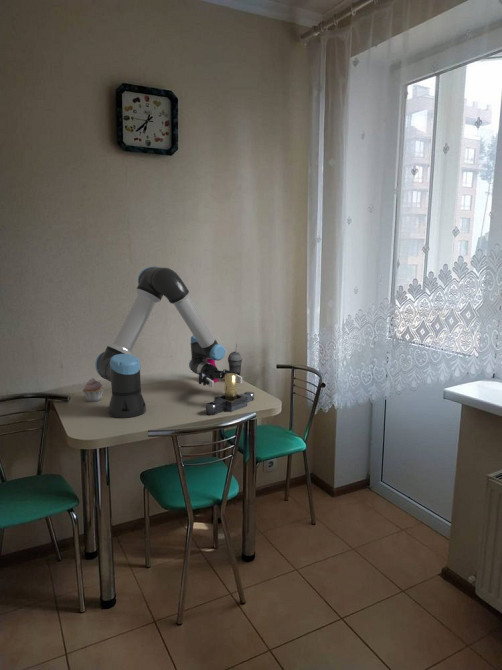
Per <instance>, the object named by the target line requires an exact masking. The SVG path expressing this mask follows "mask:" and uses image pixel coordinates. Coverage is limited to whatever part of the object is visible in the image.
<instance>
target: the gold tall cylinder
mask: <svg viewBox="0 0 502 670" xmlns="http://www.w3.org/2000/svg"><path fill="white" fill-rule="evenodd" d="M237 384H238V383H237V381H236V374H235V373H227V374H225V378H224V394H225V399H226V400H230V401H233V400H235V399H237V394H238V393H237V391H238V390H237Z"/></svg>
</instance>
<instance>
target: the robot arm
mask: <svg viewBox="0 0 502 670" xmlns="http://www.w3.org/2000/svg"><path fill="white" fill-rule="evenodd" d="M137 284H138V285H137V287H136V289H135V291H136V293H137V294H136V297H135V299H134V301H133V303H132V305H131V307H130V309H129V311H128V313H127V315H126V316H125V318H124V321H123V323H122V325H121V326H120V328H119V331H118V333H117V335H116V337H115V338H114V340H113V342H112V343H111V344H108V345H106V348H105V350H104V351H103V352H101V353H99V355H97V357H96V359H95V363H94V366H95V370H96V373H97V374H98V376H100V377H101V378H102V379H105V381H106V380H107V381H108V382H110V384H111V397H110V401H109V406H108V408H107V409H108V415H109V416H110V417H113V418H118V417H119V419H121V418H122V419H126V418H134V417H138V416H141V415H143V414H145V413H146V411H147V404H146V402H145V399H144V397H143V395H142V385H141V382H142V381H141V363H140V359H139V358H138V356H135V355H134V354H132V351H133V349H134V347H135V346H136V343H137V341H138V339H139V337H140V335H141V333H142V331H143V329H144V326H145V325H146V323H147V321H148V319H149V316H150V315H151V313H152V311H153V309H154V307H155V305H156V304H157V303H160V302H161V301H162V298H163V297H165V298H166V299H167V301H168V303H169V304H172V305H174V307H175V308H176V310H177V312H178V313H179V315H180V316H181V317H182V320H183V321H184V323H185V324H186V326H187V328H188V329H189V331H190V332H191V333H192V336H191V337H190V352H191V353H190V355H191V358H190V360H189V363H188V368H189V369H190V371H191V372H192V373H194V374H195V375H197V376H198V384H199V385H202V386H206V385H207V386H209V387H210V388H212V389H214V388H215V383H214V381H212V380H214V379H217V380H218V379H221V380H223V379H225V374H227V373H235V374H236V381H237V382H239V383H238V384H243V376H241V372H240V373H239V372H234V371H229V370H228V369H223V370H220V369H218V367H217V365H216V366H214V365H212V364H210V363H208V362H207V358H209V359H212V360H215V362H216V361H222V360H223V359H224V357H225V356H226V348H225V347H224V346H223V345H222V344H220V343H219V342H218V341H217V339H216V338H215V336H214V335H213V333H212V332H211V330H210V327H208V324H207V323H206V321H205V320H204V318H203V317H202V315H201V314H200V312H199V310H198V308H197V307H196V305H195V303H194V302H193V300H192V298H191V297H190V290H189V289H188V287H187V285H186V284H185V283H184V281H183V279H182V277H180V275H179V274H178V273H177V272H176V271H174V270H173V269H171V268H169V267H160V266H148V267H145V268H144V269H142V270H141V271H140V272H139V274H138V277H137ZM216 367H217V368H216Z"/></svg>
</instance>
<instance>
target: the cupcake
mask: <svg viewBox="0 0 502 670" xmlns="http://www.w3.org/2000/svg"><path fill="white" fill-rule="evenodd" d="M105 389H106V388H104V387H103V384H102V383H101V381H98V380H96V379H95V378H94V377H93V378H91V379H89V380H88V381H87V383H86V384H85V385H84V389H82V392H83V394H84V396H85V400H86V401H87V402H89V403H94V402H99V401H101V400H102V399H103V392H105V391H104V390H105Z"/></svg>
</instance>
